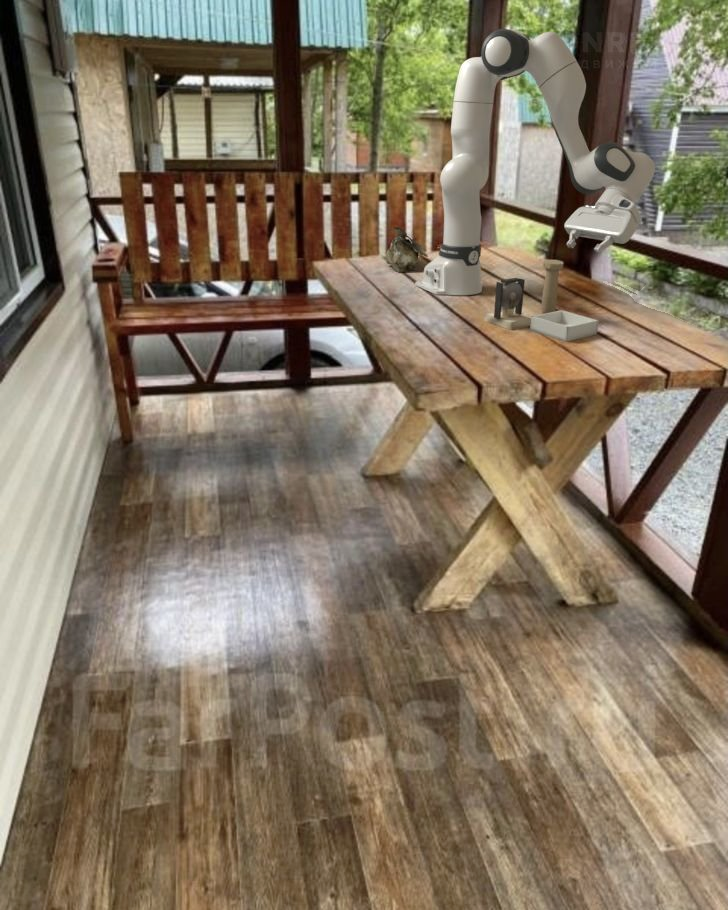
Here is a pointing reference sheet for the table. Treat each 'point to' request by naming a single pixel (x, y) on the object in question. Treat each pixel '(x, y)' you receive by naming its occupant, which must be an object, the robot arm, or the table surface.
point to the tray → (564, 325)
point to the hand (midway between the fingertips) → (582, 249)
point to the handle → (550, 285)
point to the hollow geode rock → (403, 252)
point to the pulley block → (509, 305)
